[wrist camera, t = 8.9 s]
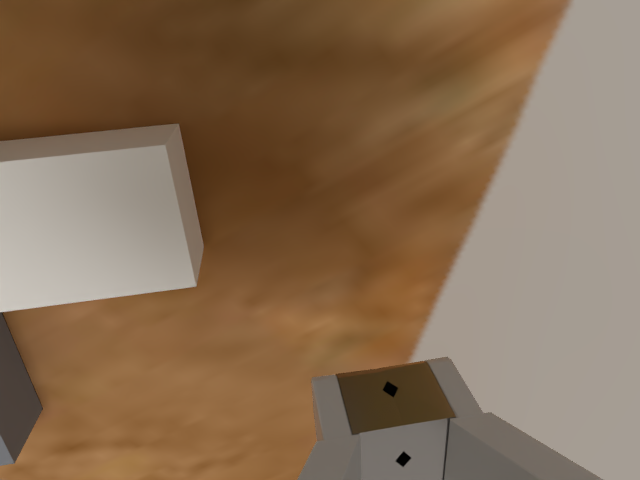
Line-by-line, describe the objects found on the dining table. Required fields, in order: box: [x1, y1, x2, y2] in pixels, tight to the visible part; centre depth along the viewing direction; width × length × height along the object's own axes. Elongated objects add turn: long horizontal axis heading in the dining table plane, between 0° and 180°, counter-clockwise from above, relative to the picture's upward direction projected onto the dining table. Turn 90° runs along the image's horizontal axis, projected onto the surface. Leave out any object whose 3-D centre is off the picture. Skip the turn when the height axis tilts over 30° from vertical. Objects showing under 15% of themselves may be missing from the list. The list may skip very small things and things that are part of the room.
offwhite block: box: [0, 123, 204, 312], centre depth 20 cm, size 6×10×4 cm, turn 94°
